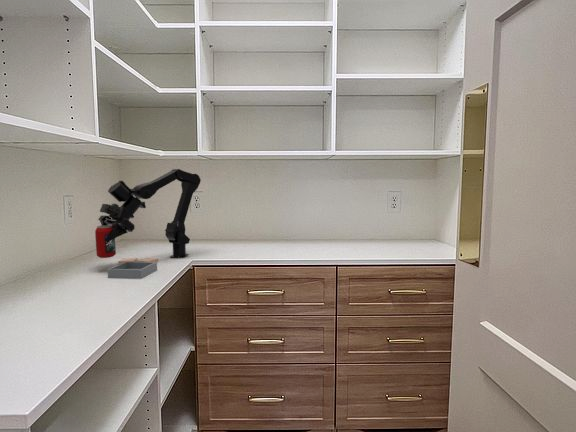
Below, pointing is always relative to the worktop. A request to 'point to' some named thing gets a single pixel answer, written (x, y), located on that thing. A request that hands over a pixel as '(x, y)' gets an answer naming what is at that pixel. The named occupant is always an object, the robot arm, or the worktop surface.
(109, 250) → the beverage can
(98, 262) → the worktop surface
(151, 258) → the tile
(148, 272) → the tray
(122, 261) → the tile
